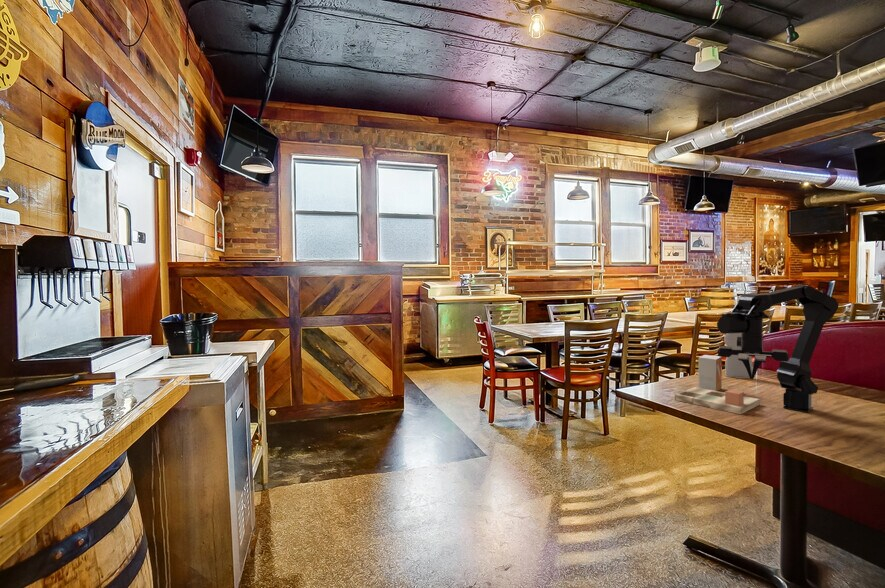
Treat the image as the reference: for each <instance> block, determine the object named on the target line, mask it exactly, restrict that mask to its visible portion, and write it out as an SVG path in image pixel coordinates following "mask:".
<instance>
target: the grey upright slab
mask: <svg viewBox="0 0 885 588" xmlns="http://www.w3.org/2000/svg"><path fill="white" fill-rule="evenodd" d="M737 337H741V333H730V334H724V340H723V341H724V344H725V346H727V347H732V349H735V350H741V347H737ZM752 357H753V356H749V359H750V366H751V372H752V370H753V365H754V361H753V360H752ZM725 358H726V359H725V360H724V361H725V363H724V364H725V365H724V366H725V367H724V369H725V370H724V371H725V372H724V373H725V375H724V376H725V377H726V378H733V379H734V378H735V379H748V380H749V379H750V377H749V374H748V372H747V369H746V367H745V365H744V364H743V362H742V361H739V360H738V358H739V356H738V355H731V356H730V357H725ZM750 380H751V379H750Z"/></svg>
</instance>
